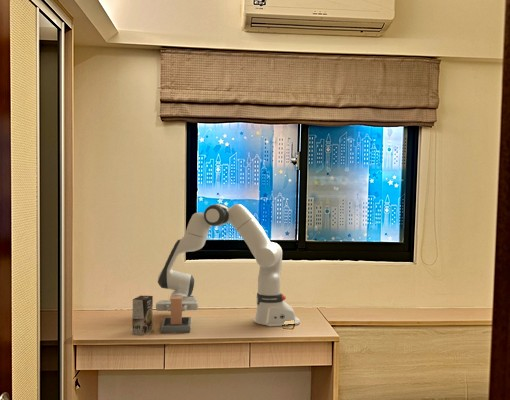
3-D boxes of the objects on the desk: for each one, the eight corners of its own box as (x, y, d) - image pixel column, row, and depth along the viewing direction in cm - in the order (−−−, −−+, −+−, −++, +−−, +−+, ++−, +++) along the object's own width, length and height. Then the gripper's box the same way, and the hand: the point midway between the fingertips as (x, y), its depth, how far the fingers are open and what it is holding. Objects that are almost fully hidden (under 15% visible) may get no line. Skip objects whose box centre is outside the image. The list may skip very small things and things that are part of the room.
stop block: (181, 321, 249) (182, 296, 249) (181, 324, 244) (181, 298, 244) (171, 321, 249) (171, 296, 248) (170, 324, 244) (170, 298, 243)
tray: (190, 323, 255) (190, 317, 255) (189, 332, 239) (189, 326, 239) (163, 323, 254) (163, 317, 254) (161, 333, 238) (161, 326, 238)
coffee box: (145, 335, 234) (145, 299, 234) (131, 334, 235) (131, 299, 235) (153, 329, 243) (153, 295, 242) (140, 328, 244) (140, 294, 244)
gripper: (156, 296, 258) (154, 303, 244) (198, 296, 260) (197, 302, 246) (156, 309, 258) (154, 316, 245) (198, 308, 260) (197, 315, 247)
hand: (176, 309), depth 245 cm, fingers closed on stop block, 5 cm apart
